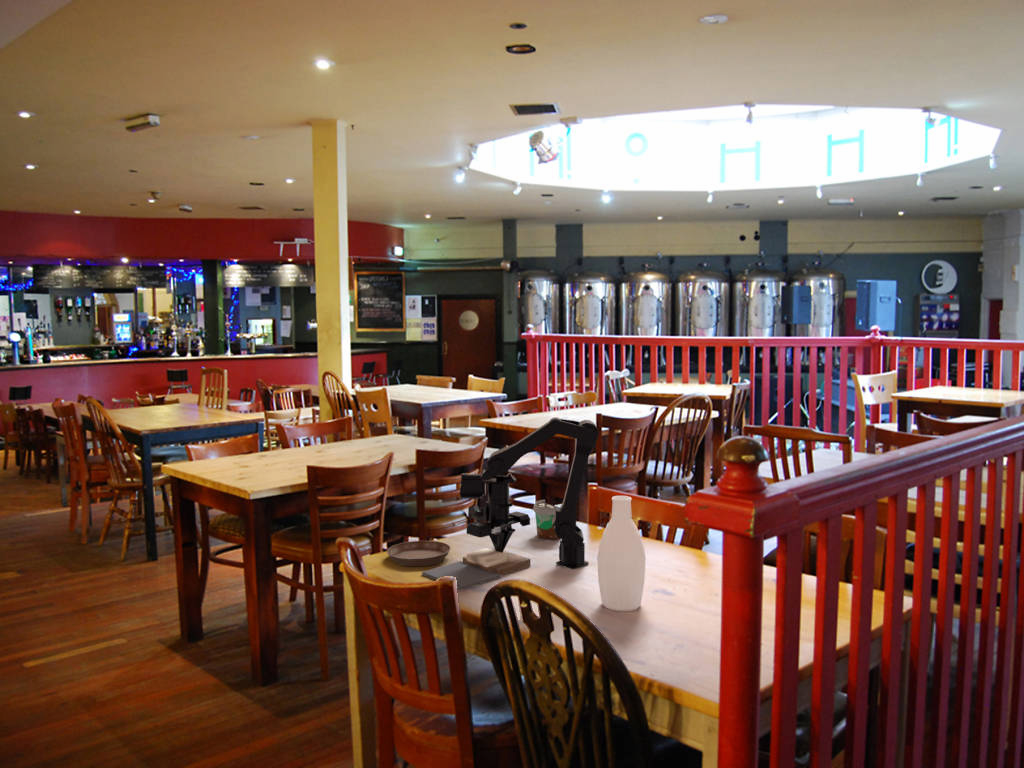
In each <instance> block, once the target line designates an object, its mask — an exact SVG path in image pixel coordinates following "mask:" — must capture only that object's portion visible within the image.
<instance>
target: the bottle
mask: <svg viewBox="0 0 1024 768" xmlns="http://www.w3.org/2000/svg"><path fill="white" fill-rule="evenodd" d="M632 499H633V498H632V497H631V496H628V495H614V496H612V497H611V501H612V503H611V504H612V506H611V507H612V508H611V519H609V522H608V523H607V525H606V527H605V529H604V530H603V533H602V536H601V539H600V542H599V545H598V552H597V577H598V579H597V581H598V587H599V593H600V601H601V603H602V605H603V607H604V606H605V607H604V608H606V609H607V608H608V609H607V610H610V611H614V610H615V611H616V612H631V611H635V610H637V609H638V608H639V607H641V605H642V599H643V593H644V588H645V587H644V586H645V579H646V559H647V558H646V553H645V552H646V551H645V545H644V542H643V538H642V535H641V533H640V530H639V529H638V527H637V526H636V523H635V522H634V520H633V516H632V502H631V501H632Z"/></svg>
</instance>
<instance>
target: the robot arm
mask: <svg viewBox="0 0 1024 768" xmlns="http://www.w3.org/2000/svg"><path fill="white" fill-rule="evenodd" d="M599 431H600V430H599V429H598V427H597V425H596V423H595V422H593V421H592V420H590V419H584V420H580V421H579V420H578V421H577V420H573V419H572V420H570V419H564V418H560V417H552V418H550V419H549V420H548V421H547V422H546V423H544V424H543V425H541V426H540V427H538V428H537V429H535V430H533V431H532V432H531V433H529V434H527V435H526V436H524V437H523V438H522V439H519V441H517V442H515V443H513V444H511V445H508V446H505V447H502V448H499V449H498V450H496V451H493V452H492V453H491V454H490V455H489V457H488V460H487V465H486V467H485V468H484V469H482V472H481V473H467V472H463V473H461V474H460V475H461V476H460V487H459V496H460V499H461V500H463V499H464V500H465V499H467V500H469V499H470V500H472V499H473V500H475V499H476V500H480V499H482V498H483V497H484V496H486V494H487V500H486V501H484V507H480V506H479V505H474V506H470V507H469V513H468V514H469V518H470V519H471V520H472V519H475V521H473V522H469V523H467V525H466V529H465V530H466V534H467V535H470V536H473V537H476V538H485V537H489V539H490V540H491V542H492V546H493V549H494V548H495V551H498V552H501V553H503V551H505V549H506V546H507V544H508V542H509V541H510V538H511V537H512V535H513V533H514V532H516V529H515V528H513V526H512V525H514V524H518V523H519V525H520V526H521V527H526V526H529V525H531V517H530V515H529V514H528V513H525V512H521V511H513V512H510V508H511V507H513V502H512V501H510V484H515V483H517V482H516V481H517V478H516V477H515V476H514V475H512V472H509V473H508V474H507V475H505V474H506V473H507V472H508V471H509V470H510V469H511V468H513V466H515V465H516V463H517V462H518V461H519V460H520V459H522V457H524V456H525V455H527V454H528V453H530V452H531V451H533V450H535V448H537V447H539V446H540V445H542V444H543V443H545V442H546V441H549V439H551V438H553V437H554V436H556V435H561V436H565V437H569V438H571V439H574V441H575V442H574V454H573V458H572V462H571V468H570V471H569V476H568V480H567V484H566V489H565V492H564V497H563V501H562V502H561V505H560V506H557V505H554V506H555V514H554V517H553V518H552V525H553V526H554V531H555V534H556V535H557V537H559V538H560V540H559V546H558V561H556V562H555V564H556V565H558V566H561V567H564V568H567V569H571V570H575V569H578V568H581V567H584V566H587V565H589V561H586V560H585V559H586V558H585V557H586V556H585V553H586V552H585V551H586V550H585V549H586V548H585V542H584V540H585V539H584V534H583V531H582V529H581V528H580V527H579V525H577V519H578V518H577V512H578V504H579V503H578V502H579V500H580V494H581V491H582V490H581V489H582V487H583V482H584V478H585V473H586V469H587V466H588V461H589V458H590V455H592V454H591V453H592V451H593V450H594V448H595V446H596V443H597V441H598V439H599V435H600V432H599ZM494 477H495V478H494ZM486 484H487V485H486ZM486 487H487V488H486ZM479 507H480V508H479ZM480 520H482V521H480ZM483 521H484V522H483Z"/></svg>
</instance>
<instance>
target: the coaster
mask: <svg viewBox="0 0 1024 768" xmlns="http://www.w3.org/2000/svg"><path fill="white" fill-rule="evenodd" d="M492 549H493V548H488V547H485V548H481V549H478V550H474V551H472V552H467V553H466V554H467V555H466V556H467V561H470V562H473V563H476V564H478V565H481V566H484V567H490V566H493V565H497V564H500V563H503V562H507V554H505V553H501V552H498V551H495V550H492Z"/></svg>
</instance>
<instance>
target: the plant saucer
mask: <svg viewBox="0 0 1024 768" xmlns="http://www.w3.org/2000/svg"><path fill="white" fill-rule="evenodd" d="M451 549H452V548H451V546H450V544H447V543H446V542H441V541H438V540H437V541H436V540H414V541H413V540H412V541H406V542H401V543H398V544H393V545H392V546H390V547H389V548H387V550H386V554H387V555H388V557H389V558H390V559H391V560H392V561H393V562H394V563H395V564H397V565H400V566H404V567H423V566H424V567H425V566H431V565H436V564H438V563H440V562H442V561H444V560H445V559H446V557H447V556H448V554H449V553H450V550H451Z"/></svg>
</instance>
